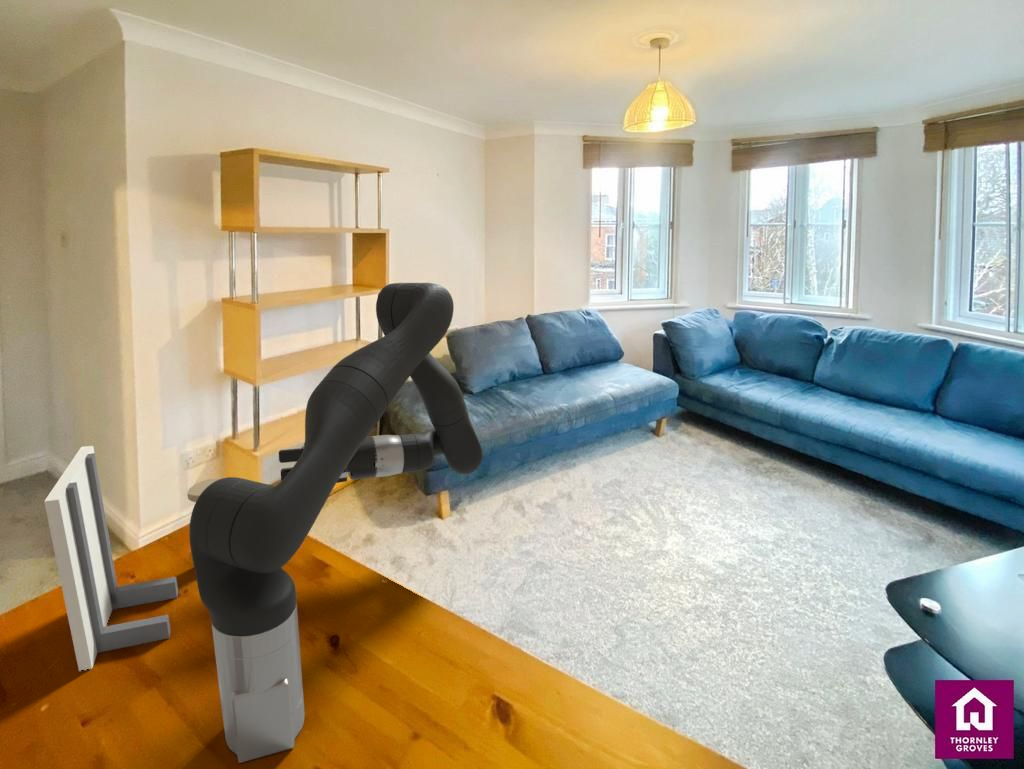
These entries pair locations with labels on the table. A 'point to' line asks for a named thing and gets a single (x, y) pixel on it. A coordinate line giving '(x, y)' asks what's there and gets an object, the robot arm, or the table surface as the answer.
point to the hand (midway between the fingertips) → (279, 465)
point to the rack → (96, 568)
